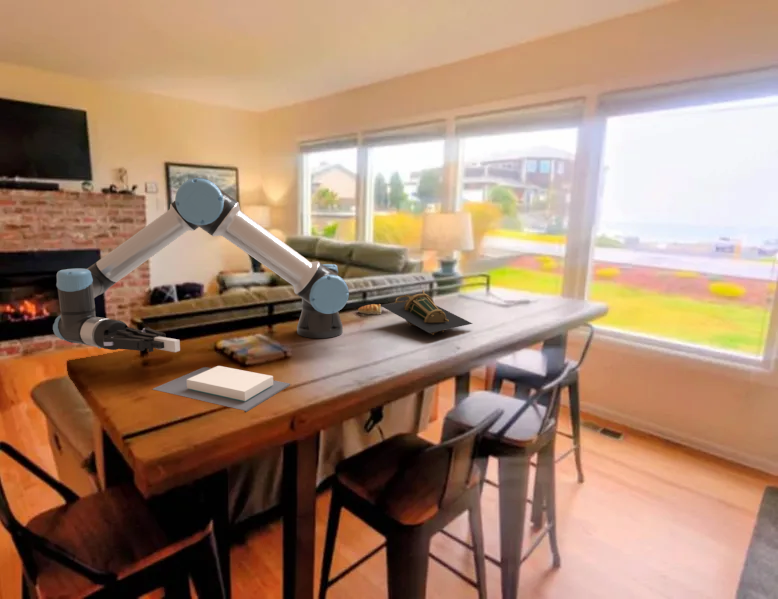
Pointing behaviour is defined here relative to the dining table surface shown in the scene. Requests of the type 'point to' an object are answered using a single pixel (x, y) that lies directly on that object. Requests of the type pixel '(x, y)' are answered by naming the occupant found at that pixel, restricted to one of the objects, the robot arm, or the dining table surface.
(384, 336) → the dining table surface
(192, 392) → the mat
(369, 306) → the pastry
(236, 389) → the tile
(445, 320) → the lantern
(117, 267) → the robot arm
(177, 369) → the dining table surface
